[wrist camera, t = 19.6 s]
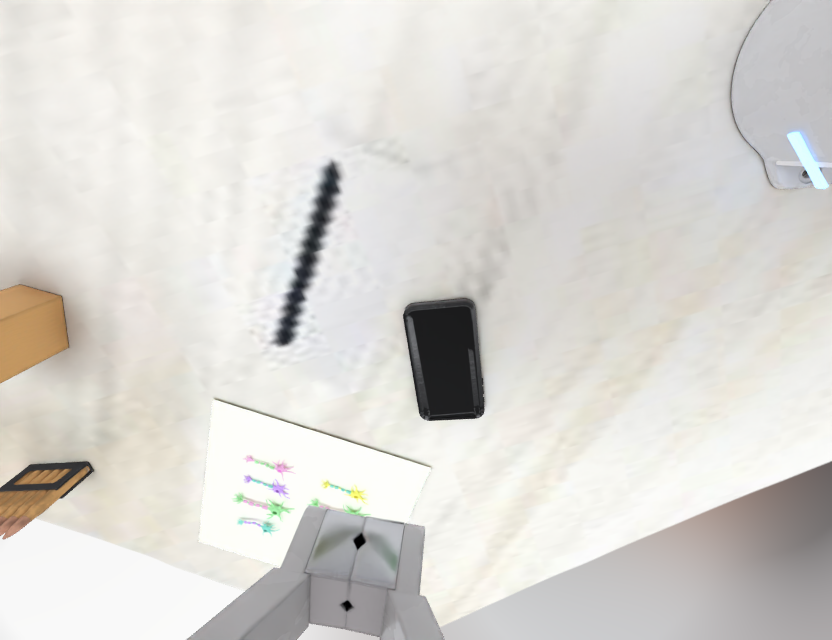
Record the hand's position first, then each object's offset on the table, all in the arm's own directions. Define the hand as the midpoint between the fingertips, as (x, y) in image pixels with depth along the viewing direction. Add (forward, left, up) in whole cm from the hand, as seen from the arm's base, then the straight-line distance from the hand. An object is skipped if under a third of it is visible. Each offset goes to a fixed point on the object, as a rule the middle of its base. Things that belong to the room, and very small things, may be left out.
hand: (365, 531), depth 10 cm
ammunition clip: (+55, +39, -33) cm, 75 cm away
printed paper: (+17, +41, -33) cm, 56 cm away
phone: (-2, +14, -33) cm, 36 cm away
